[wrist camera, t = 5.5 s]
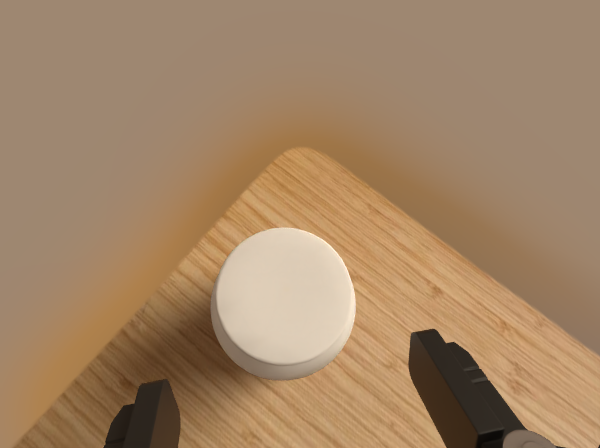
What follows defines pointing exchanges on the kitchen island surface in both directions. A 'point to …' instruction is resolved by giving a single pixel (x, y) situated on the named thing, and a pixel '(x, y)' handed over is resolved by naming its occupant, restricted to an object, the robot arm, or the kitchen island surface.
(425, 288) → the kitchen island surface
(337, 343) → the pill bottle
